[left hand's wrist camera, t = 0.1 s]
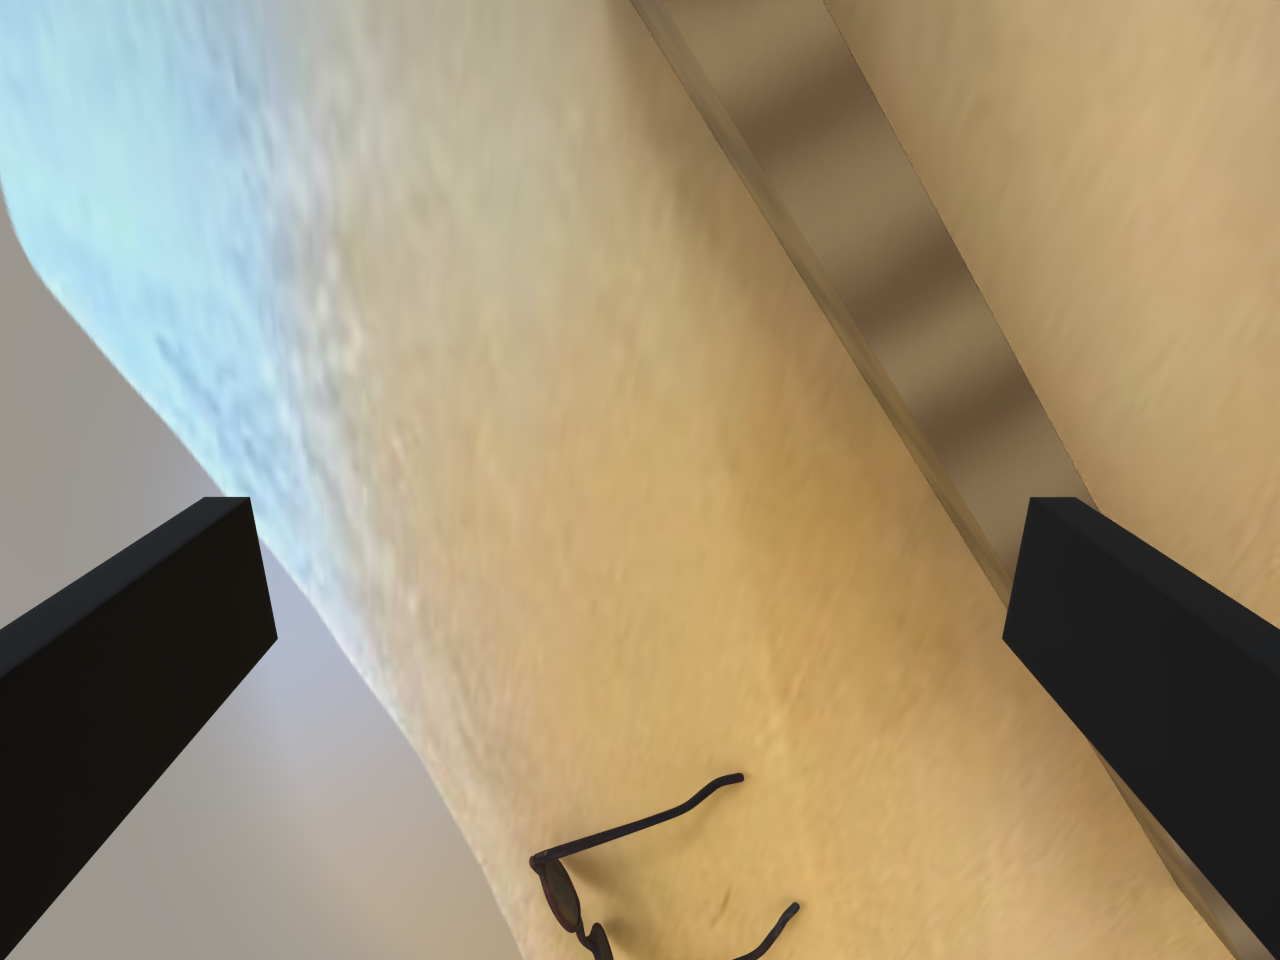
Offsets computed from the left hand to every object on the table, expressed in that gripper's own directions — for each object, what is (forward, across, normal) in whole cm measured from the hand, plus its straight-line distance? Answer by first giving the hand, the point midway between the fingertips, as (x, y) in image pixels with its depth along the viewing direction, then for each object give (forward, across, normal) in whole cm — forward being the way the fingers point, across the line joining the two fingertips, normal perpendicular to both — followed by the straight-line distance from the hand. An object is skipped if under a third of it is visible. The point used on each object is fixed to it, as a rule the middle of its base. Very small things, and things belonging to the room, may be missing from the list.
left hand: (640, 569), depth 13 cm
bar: (+28, +20, -10) cm, 36 cm away
